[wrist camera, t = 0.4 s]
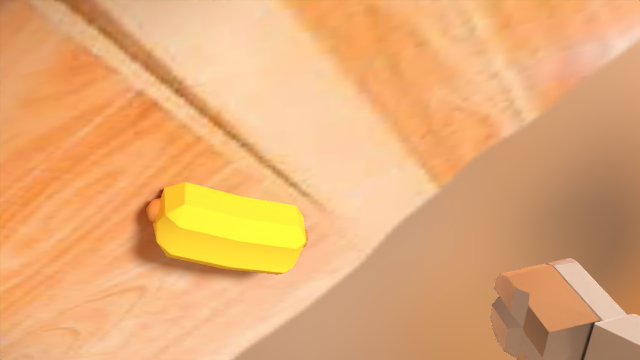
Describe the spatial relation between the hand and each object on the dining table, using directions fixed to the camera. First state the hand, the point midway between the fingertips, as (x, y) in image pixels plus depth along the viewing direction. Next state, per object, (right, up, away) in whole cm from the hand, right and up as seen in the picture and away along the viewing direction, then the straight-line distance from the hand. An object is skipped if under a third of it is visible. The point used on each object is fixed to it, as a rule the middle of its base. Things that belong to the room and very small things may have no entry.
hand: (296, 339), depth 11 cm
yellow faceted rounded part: (-9, -1, +51) cm, 52 cm away
